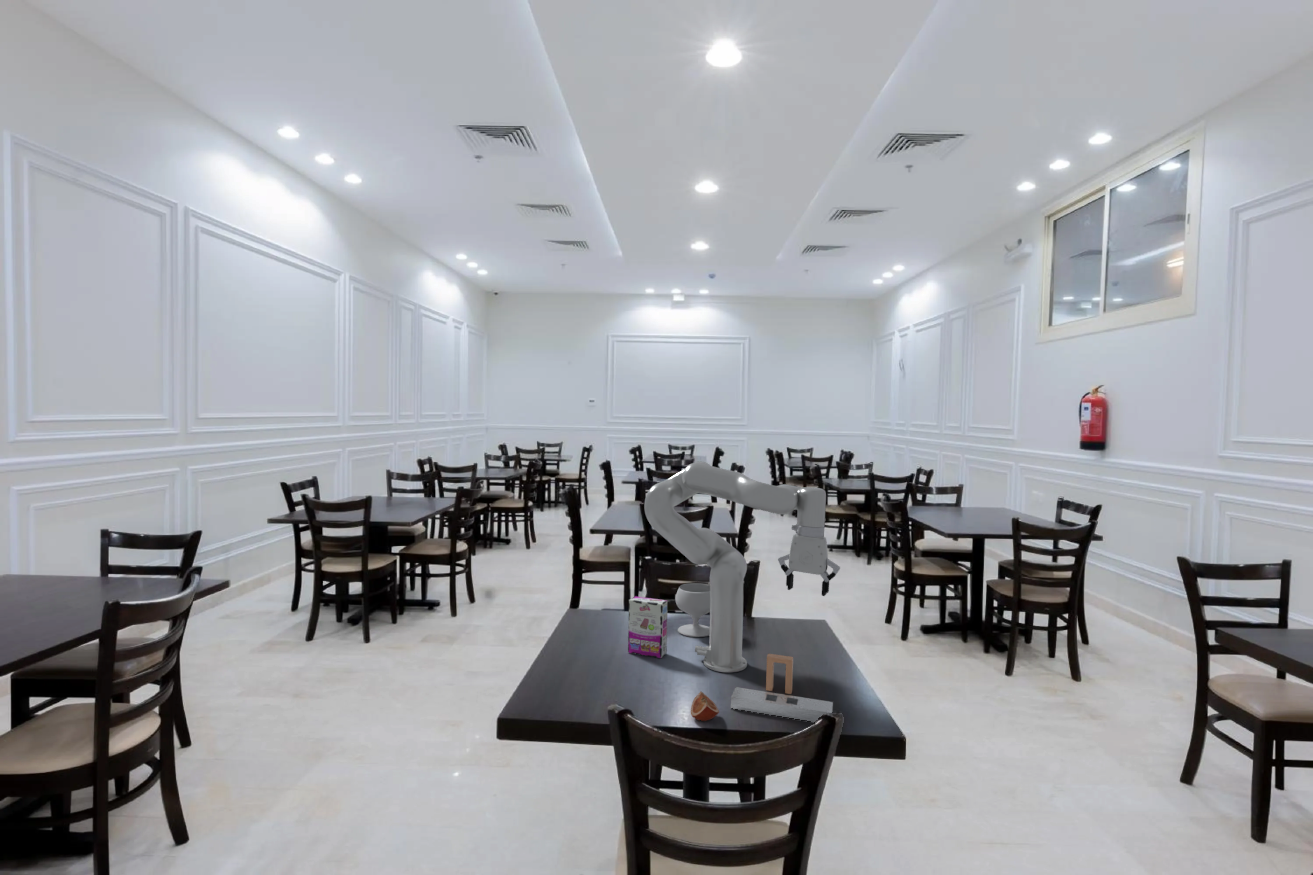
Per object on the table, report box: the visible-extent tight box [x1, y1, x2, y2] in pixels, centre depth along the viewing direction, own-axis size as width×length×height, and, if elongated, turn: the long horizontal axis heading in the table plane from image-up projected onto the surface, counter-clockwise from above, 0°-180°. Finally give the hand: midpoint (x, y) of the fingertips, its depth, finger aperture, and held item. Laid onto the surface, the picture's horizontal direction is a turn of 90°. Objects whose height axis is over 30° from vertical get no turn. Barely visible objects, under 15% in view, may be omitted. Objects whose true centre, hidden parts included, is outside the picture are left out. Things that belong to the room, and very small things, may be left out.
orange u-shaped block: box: [765, 653, 794, 695], centre depth 165 cm, size 7×2×9 cm, turn 72°
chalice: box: [675, 582, 710, 638], centre depth 209 cm, size 14×14×15 cm
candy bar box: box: [627, 595, 669, 659], centre depth 189 cm, size 11×5×16 cm, turn 68°
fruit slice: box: [690, 691, 720, 722], centre depth 149 cm, size 8×7×5 cm
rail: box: [730, 686, 834, 724], centre depth 153 cm, size 24×6×3 cm, turn 72°
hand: (806, 591), depth 176 cm, fingers open, 9 cm apart
